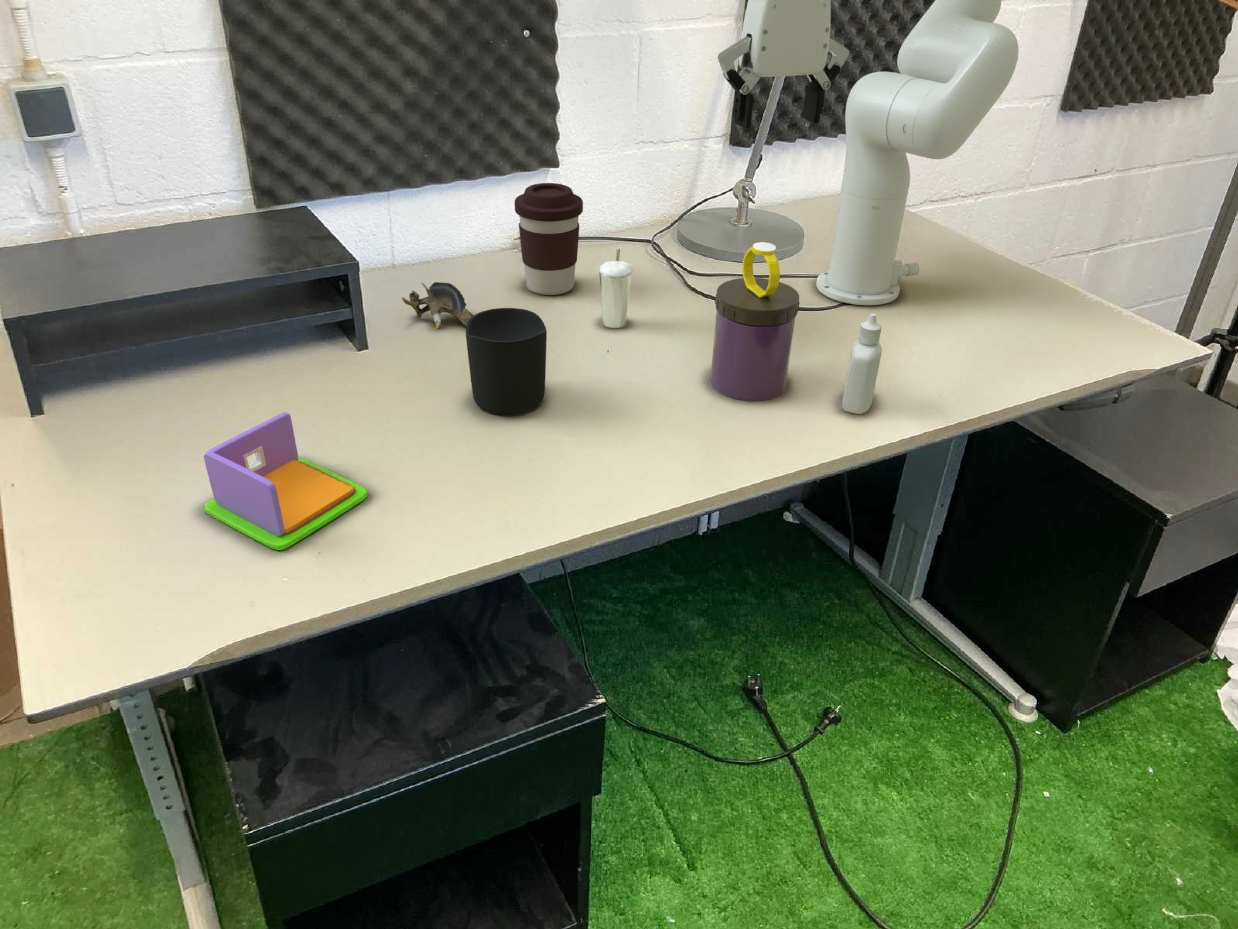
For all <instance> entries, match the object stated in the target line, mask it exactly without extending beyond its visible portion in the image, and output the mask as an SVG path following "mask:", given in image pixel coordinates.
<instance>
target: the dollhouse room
mask: <svg viewBox="0 0 1238 929" xmlns="http://www.w3.org/2000/svg"><path fill="white" fill-rule="evenodd" d="M254 454H255V461H254V462H252V463H250V464H249V461H248V457H250V456H253V455H254ZM203 460H204V464H205V469H206V472H207V476H208V481H209V484H210V488H211V492H212V496H213V498H212V499H210V500H209V501H207V502H206V503H205V504H204V511H205V513H206V514H208V515H209V516H211V517H213V518H214V519H216V520H218V521H219V522H222V523H223V524H225V525H227V526H229V527H231V528H232V529H234V530H236V531H238V532H239V533H242V534H243V535H245V536H247V537H249V538H251V539H253V540H255V541H256V542H258V543H260V544H262V545H264V546H266V547H268V548H270V549H272V550H276V551H283V550H286V549H288V548H290V547H292V546H293V545H295V544H297V543H298V542H300V541H301V540H303V539H305V538H307V537H308V536H310V535H311V534H313V533H314V532H317V531H318V530H319V529H321V528H322V527H324V526H325V525H327V524H329V523H330V522H332V521H333V520H335V519H336V518H338V517H340V516H341V515H342V514H344V513H346V512H347V511H349V510H351V509H353V507H355V506H357V505H358V504H360V503H362V502H363V501H364V500H365V499H366V498H367V497H368V491H367V489H366V488H365V487H363V486H361V485H360V484H358V483H356V482H353V481H351V480H350V479H347V478H345V477H343V476H341V475H339V474H337V473H335V472H333V471H330V470H328V469H326V468H324V467H322V466H320V465H318V464H315V463H313V462H311V461H309V460H306V459H304V458H302V457H299V454H298V447H297V442H296V438H295V432H294V426H293V421H292V417H291V413H289V412H286V411H283V412H281V413H278V414H277V415H274V416H273V417H271V418H269V419H267V420H265V421H263V422H261V423H258V424H257V425H255V426H252V427H251V428H249V429H247V430H245V431H243V432H241V433H239V434H237V435H235V436H233V437H232V438H229V439H227V440H225V441H223V442H221V443H220V444H217V445H216V446H214V447H212V448H210V449H209V450H207V451H205V453H204V454H203Z"/></svg>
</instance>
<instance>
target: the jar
mask: <svg viewBox="0 0 1238 929" xmlns="http://www.w3.org/2000/svg"><path fill="white" fill-rule="evenodd" d="M795 323H796V317H795V318H794V319H792V320H791V321H789V322H786V323H783V324H779V325H771V326H756V325H748V324H742V323H738V322H735V321H732V320H730V319H727V318H725V317H724V316H722V315H721V314H720V313H719V312H718V311H717V310H716V309H715V324H714V335H713V346H712V354H711V355H712V357H711V368H710V377H709V378H710V380H709V381H710V384H711V386H712V387H713V388H714V389H715V390H716V391H717V392H718V393H720V394H721V395H723V396H726V397H729V398H731V399H735V400H739V401H740V400H741V401H748V402H759V401H760V402H761V401H768V400H772V399H774V398H777V397H779V396H781V395H782V394H783V393H784V392H785V391H786V388H787V382H788V374H789V366H790V361H791V360H790V359H791V351H792V347H793V346H792V345H793V338H794V331H795Z"/></svg>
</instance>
